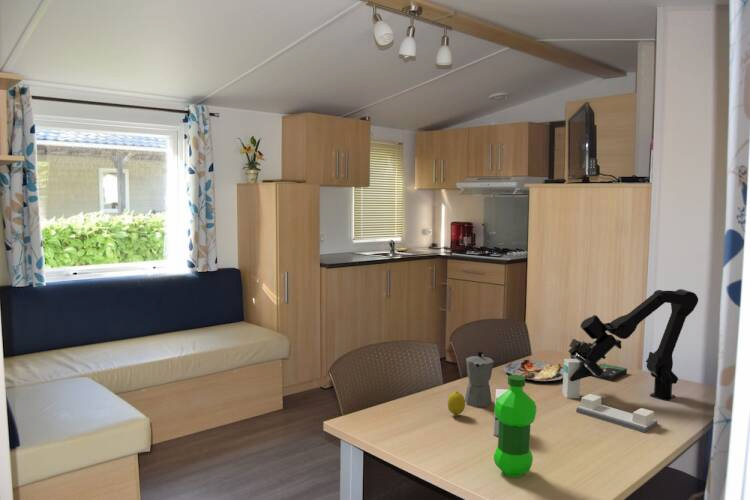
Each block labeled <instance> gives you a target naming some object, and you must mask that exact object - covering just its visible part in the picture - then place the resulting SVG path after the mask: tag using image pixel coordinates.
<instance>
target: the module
mask: <svg viewBox="0 0 750 500" xmlns="http://www.w3.org/2000/svg"><path fill="white" fill-rule="evenodd" d="M579 366H580V361H579V360H577V359H571V358H564V359H563V368H564V373H563V378H562V395H563V396H564V397H565V398H566V399H580V390H581V389H580V388H581V387H580V385H581V379H579V380H575V381H571V380H570V378H571V377H572V375H573V374H574V373H575V372H576V371H577V370H578V368H579Z"/></svg>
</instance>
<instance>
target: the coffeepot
mask: <svg viewBox="0 0 750 500" xmlns="http://www.w3.org/2000/svg"><path fill="white" fill-rule="evenodd" d="M485 355H486V354H485V353H484V352H483V351H480V350H479V351H477V355H476V356H473V355H471V356H469V357H466V358H465V362H466V372H467V373H466V374H467V378H468V383H467V387H466V393H465V396H464V399H465V404H466V405H468V406H471V407H474V408H486V407H490V406H491V405H492V404H493V401H492V394H491V387H490V381H491V378H492V372H493V367H494V363H495V362H494V360H493V359H492V358H491V357H487V356H485Z"/></svg>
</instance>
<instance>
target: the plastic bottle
mask: <svg viewBox="0 0 750 500" xmlns="http://www.w3.org/2000/svg"><path fill="white" fill-rule="evenodd" d="M520 375H521V374H516V375H512V374H510V375H508V377H507V385H509V389H507V390H508V391H506V392H505V393H503V394H502V395H501V396H499V397H498V399H497V401H496V404H495V403H494V409H493V410H494V411H495V416H496V417H497V418H498V420H499V435H498V436H497V437H498V438H497V439H498V440H497V447H496V449H495V451H494V455H493V461H494V464H495V466H497V468H498V469H499V470H500V471H501V472H502V473H503V474H504V475H505V476H508V477H510V478H519V477H522V476H524V475H525V474H526V473H528V472H529V471H530V470H531V468H532V465H533V459H534V457H533V453H532V450H531V449H530V443H531V441H530V440H531V424H533V423H534V421H535V419H536V415H537V404H536V402H535V401H534V400H533V399H532V398H531V397H530V396H529V395H528V394H527V393H525V391H524V389H523V388H524V387H525V386H526V379H525V377H523V376H520ZM494 411H493V412H494ZM521 475H522V476H521Z"/></svg>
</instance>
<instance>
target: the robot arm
mask: <svg viewBox="0 0 750 500" xmlns="http://www.w3.org/2000/svg"><path fill="white" fill-rule="evenodd" d="M665 303H669V304H670V308H671V309H670V310H671V313H670V316H669V319H668V322H667V324H666V327H665V329H664V332H663V335H662V337H661V339H660V342H659V345H658V347H657V349H656V350H655V351H654V352H652V351H650V352H649V353H648V357H647V359H646V361H645V362H646V369H647V370H648V371H649V373H650V376H651V377H653V378H654V385H653V387H654V388H653V392H652V393H650V394H649V396H650V397H653V398H658V399H661V400H665V401H670V400H672V399H674V398H675V397H676V395H675V394H672V393H673V384H674V385H676V384H677V382H678V381H679V377H678V376H677V375H676V374H675V373H674V372H673V371H672V370H673V365H674V361H673V359H674V358H673V354H674V350H675V348H676V345H677V343H678V340H679V337H680V334H681V332H682V330H683V327H684V324H685V321H686V319H687V317H688V316H690V314H692V313H693V312H694V310H695V308H696V307H697V305H698V303H699V297H698V295H697V293H695V292H693V291H690V290H686V289H683V288H679V289H677V290H662V289H656V290H655V291H654V292H653V294H651V295H650V296H649V297H648V298H646V299H645V300H644V301H643V302H641V303H640V304H639V305H638V306H636V307H635V308H633V310H631V311H630V312H629V313H627V314H625V315H622V316H618V317H617V318H615V319H613V320H612V321H611V322H605V323H604V322H602V321H601V320H600V317H598V316H597V315H596V314H593V315H592V316H589V317H587V318H585V319H584V320H583V321H581V324H580V328H581V329H582V330H583V332H584V333H586V335H587V336H588V337H589V338H590V339H591V340H594V341H593V342H592V343H591V342H585V341H584V340H583V341H580V340H577V339H575V338H573V339H572V340H571V342H570V344H569V348H570V349H568V350H567V351H568V353H569V354H570V359H577V360H579V361H580V366H579V368H578V370H577V371H576V372H575V373H574V374H573V375H572V377H571V378H570V380H571V381H575V380H579V379H580V380H581V379H584V378H590V377H591V376H594V374H593V373H595V375H596V376H598V377H600V376H601V375H602V374H603V370H602V369H601V367H600V366H599V365H600V364H598V362H599V361H600V360H602V359H603V360H605V359H606V358H607V356H606V355H607V354H608V353H609V352H610V351H611V350H612V349H613V348H614V347H616V348H618V350H621V349H622V341H621V340H626V339H628V338H630V336H631V335H633V334H634V332H636V330H637V328H638V327H637V326H638V325H640V323H641V322H643V321H644V320H645V319H646V318H647V317H649V316H650V315H652V314H653V312H655V311H656V310H658V309H659V308H660V307H661V306H662V305H665ZM607 332H608V333H609V334H608V333H607ZM616 337H617V338H619V339H617V338H616ZM620 339H621V340H620Z"/></svg>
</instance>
